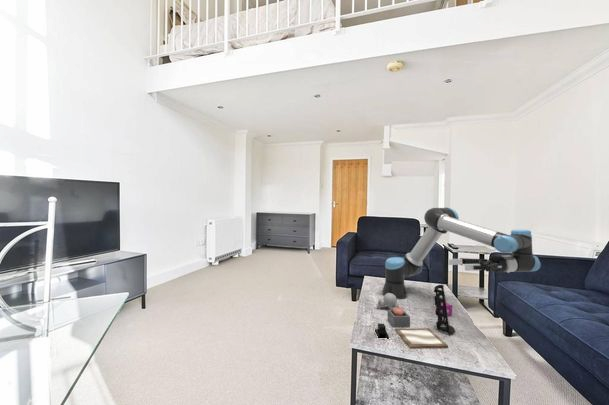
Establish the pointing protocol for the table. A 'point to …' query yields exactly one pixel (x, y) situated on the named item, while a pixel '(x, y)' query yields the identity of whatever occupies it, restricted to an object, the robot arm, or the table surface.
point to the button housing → (398, 319)
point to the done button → (398, 311)
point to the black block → (381, 331)
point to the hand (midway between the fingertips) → (456, 264)
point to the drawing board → (421, 338)
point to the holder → (441, 321)
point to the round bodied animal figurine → (388, 301)
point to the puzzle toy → (449, 309)
